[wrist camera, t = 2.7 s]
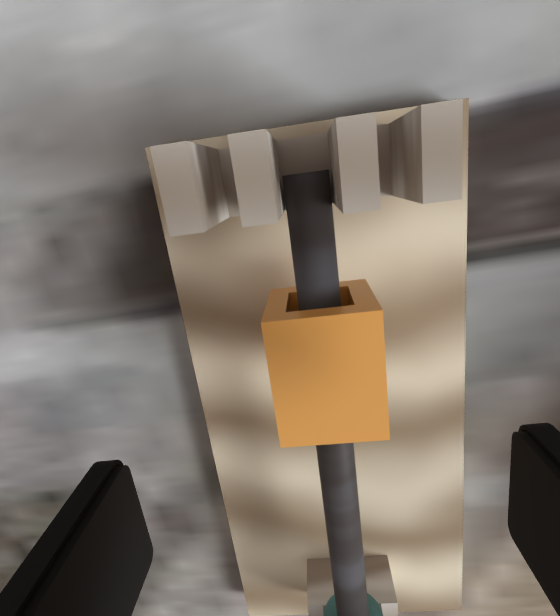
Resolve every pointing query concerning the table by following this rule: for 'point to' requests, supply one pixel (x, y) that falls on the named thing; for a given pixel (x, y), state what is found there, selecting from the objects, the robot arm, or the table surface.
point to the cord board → (413, 387)
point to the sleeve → (327, 368)
